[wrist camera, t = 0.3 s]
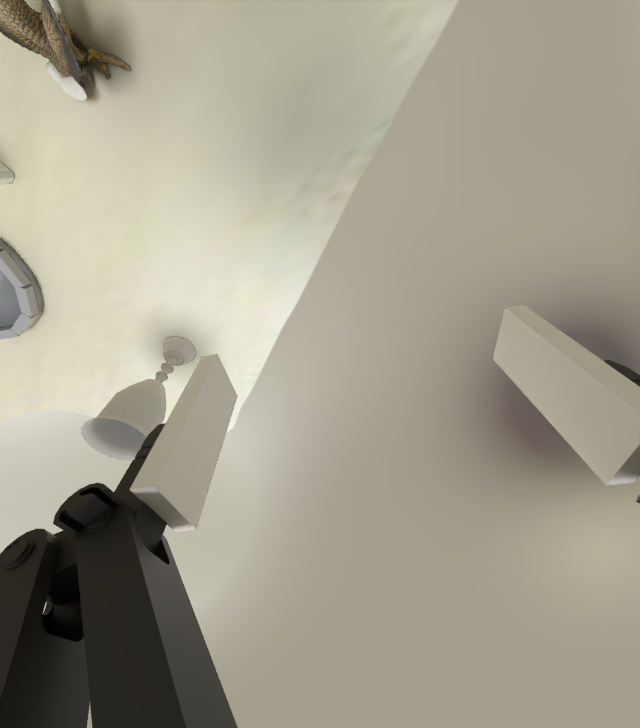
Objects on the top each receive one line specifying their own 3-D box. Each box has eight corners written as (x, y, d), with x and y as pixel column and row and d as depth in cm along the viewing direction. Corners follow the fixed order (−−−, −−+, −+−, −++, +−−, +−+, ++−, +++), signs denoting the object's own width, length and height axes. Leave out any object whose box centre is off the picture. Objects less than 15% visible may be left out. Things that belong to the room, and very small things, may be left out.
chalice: (210, 362, 47) (164, 454, 32) (173, 371, 48) (113, 465, 33) (186, 325, 43) (121, 411, 28) (147, 336, 44) (64, 425, 29)
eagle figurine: (120, 3, 24) (38, -63, 17) (139, 112, 28) (80, 97, 21) (22, -19, 23) (-108, -98, 16) (57, 97, 28) (-34, 76, 20)
